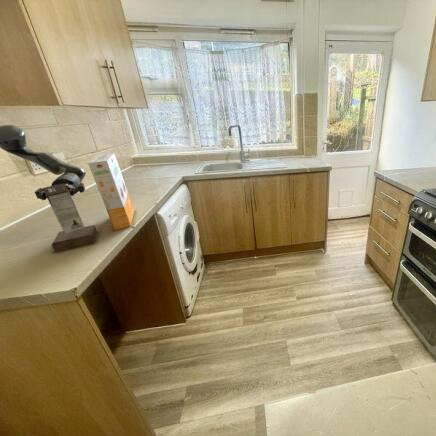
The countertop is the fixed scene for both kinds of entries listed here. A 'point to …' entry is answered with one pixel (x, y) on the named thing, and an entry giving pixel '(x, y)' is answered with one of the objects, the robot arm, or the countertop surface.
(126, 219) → the cereal box
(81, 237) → the block
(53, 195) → the coffee box
